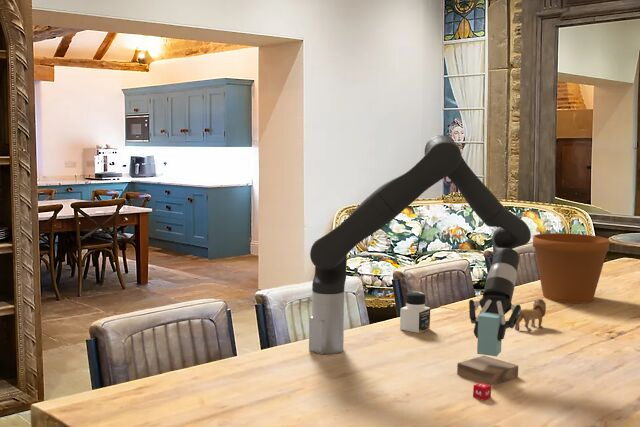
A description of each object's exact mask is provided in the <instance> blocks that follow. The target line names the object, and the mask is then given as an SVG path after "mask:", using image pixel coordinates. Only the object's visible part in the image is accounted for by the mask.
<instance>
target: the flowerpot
mask: <svg viewBox="0 0 640 427" xmlns="http://www.w3.org/2000/svg"><path fill="white" fill-rule="evenodd" d="M532 247H533V248H534V251H535V256H536V257H535V258H536V263H537V268H538V269H537V270H538V275H539V280H540V285H541V291H542V296H544V297H545V299H547V300H549V301H554V302H558V301H559V303H566V302H568V303H567V304H585V303H586V304H587V303H591V302H592V301H593V300H594V298H595V295H596V294H595V293H596V291H597V287H598V284H599V281H600V280H599V279H600V277H601V272H602V270H603V266H604V263H605V260H606V256H607V254H608V252H610V238H606V237H602V236H598V235H597V236H596V235H590V234H581V233H568V232H567V233H566V232H564V233H563V232H562V233H561V232H560V233H557V232H556V233H555V232H554V233H553V232H551V233H550V232H549V233H539V234H534V235H533V236H532ZM544 297H543V298H544Z"/></svg>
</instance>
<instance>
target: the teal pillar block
mask: <svg viewBox="0 0 640 427" xmlns="http://www.w3.org/2000/svg"><path fill="white" fill-rule="evenodd" d="M479 314H480V313H479ZM479 314H478V315H479ZM477 317H478V338H477V342H476V343H477V348H476V349H477V350H476V354H477V355H481V356H488V357H490V356H491V357H498V355H499V354H500V353H501V352H502V340H503V339H501V341H498V339H497V335H498V331H499V326H500V325H501V322H500V321H501V315H499V314H498V313H489V312H485V313H481V314H480V315H479V316H477Z"/></svg>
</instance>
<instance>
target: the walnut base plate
mask: <svg viewBox="0 0 640 427" xmlns="http://www.w3.org/2000/svg"><path fill="white" fill-rule="evenodd" d="M456 367H457V369H456V371H457V372H456V373H457V374H456V375H457V376H462V377H464V378H468V379H470V380H473V381H477V382H478V383H480V382H481V383H484V384H488V385H491V387H492V386H495V385H498V384H500V383H504V382H507V381H509V380H513V379H515V378H518V377H519V365H518V364H515V363H511V362H508V361H504V360H500V359H498V358H494V357H492V356H491V357H490V356H488V355H481V356H477V357H473V358H470V359H467V360H463V361H461V362H457V366H456Z"/></svg>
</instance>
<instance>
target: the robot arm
mask: <svg viewBox="0 0 640 427" xmlns="http://www.w3.org/2000/svg"><path fill="white" fill-rule="evenodd" d="M424 147H425V148H424V156H423V157H422V158H421V159H420V160H419V161H418V162H417V163H416V164H414V166H413V167H411V168H410V169H409V170H408V171H406V172H404V173H402V174H401V175H399V176H396V177H394V178H392V179H390V180H388V181H387V182H385V183H383V184H382V185H380V186H379V187H378V188H377V189H376V190H374V191H373V192H372V193H371V194H369V196H367V197H366V198H365V199H364V200H363V201H362V202H361V203H360V204H359V205H358V206H357V207H356V208H355V209H354V210H353V211H352V212H351V213H350V214H349V215H348V217H347V218H345V220H344V221H342V222H341V223H340V224H339V225H338V226H336V227H334V229H332V230H331V231H329V232H328V233H326V234H325V235H323V236H321V237H320V238H318V239H316V240H315V241H314V242H313V243H312V246H311V248H310V252H309V254H310V255H309V257H310V261H311V262H312V264H313V265H314V266H315V268H314V276H313V279H312V288H311V290H312V291H311V293H312V294H311V317H309V318H308V350H309V351H312V352H315V353H318V354H320V355H326V354H327V355H329V354H332V355H333V354H338V353H342V352H343V351H344V338H345V337H344V335H345V334H344V332H345V330H344V329H345V288H346V287H345V286H346V280H347V264H348V263H347V262H348V258H347V257H348V254H349V253H350V252H351V251H352V250H353V249H354V248H355V247H356V246H357V245H359V244H360V243H361V242H362V241H364V240H366V239H367V238H368V237H370V236H372V235H373V234H376V232H378V231H379V230H381V229H382V228H384V227H385V226H386V225H388V224H390V222H391V221H393V220H394V219H395V218H396V217H398V216H399V215H400V214H401V213H402V212H403V211H405V209H407V208H408V207H409V206H410V205H412V203H414V202H415V201H417V199H418V198H419V197H421V195H422V194H423V193H425V191H427V190H429V189H430V188H431V187H433V186H434V185H436V184H437V183H438V182H441V181H442V180H443V179H444V178H448V179H449V180H450V182H452V184H453V185H454V187H456V189H457V190H458V191H459V193H460V194H461V195H462V197H463V198H464V200H465V201H466V203H467V204H468V205H469V207H470V208H471V209H472V211H473V212H474V213H475V214H476V215H477V217H478V218H479V219H480V220H481V221H482V222H483V223H484V225H486V226H487V227H489V228H493V227H496V229H495V231H493V234H492V236H491V237H492V239H491V240H492V253H493V254H492V255H493V258H492V261H491V265H490V269H489V270H488V274H487V276H486V278H485V280H486V281H485V285H484V288H483V294H482V296H481V298H480V299H479V300H475V301H474V300H473V299H470V300H469V302H468V303H469V304H468V305H469V306H468V308H469V310H468V312H469V313H468V314H469V319H470V323H471V324H474V327H473V328H474V329H473V334H474V336H475V338H476V339H478V316H479V315H480V314H481V313H485V312H489V313H498V314H499V315H501V321H500V322H501V325H500V326H499V331H498V335H497V339H498V341H501V339H502V340H504V339H505V335H506V332H507V331H506V330H507V329H509V328H510V329H515V324H516V322H517V320H518V318H519V316H520V314H521V312H522V311H521V310H522V307H521V305H520V304H516V305H514V304H512V300H513V295H514V291H515V287H516V286H515V285H516V283H517V273H518V272H517V271H518V268H519V265H520V264H519V263H520V255H519V253H518V252H517V251H516V250H514V249H516V248H519V247H523V246H525V245H527V244H529V242H530V241H531V238H532V233H531V230H530V228H529V226H528V224H527V223H526V222H525V221H524V220H523V219H522V218H520V217H519V216H517V215H516V214H515V213H513V212H512V211H510V210H509V209H507V208H506V207H504V205H503V204H502V203H501V201H499V199H498V198H497V197H496V196H495V194H493V192H492V191H491V190H490V189H489V188H488V187H487V186H486V184H484V182H482V181H481V179H480V178H479V177H478V176H477V175H476V174H475V172H473V170H472V169H471V167H470V166H469V165H468V163H467V162H466V161H465V159H464V158H463V155H462V151H461V149H460V147H459V145H458V144H457V142H455V140H454V139H453V138H452V137H449V136H446V135H442V134H441V135H435V136H432V137H431V138H430V139H428V141H427V142H426V144H425V146H424ZM479 307H481V309H480V311H479V313H478V316H476V311H477V310H478V309H479ZM509 311H511V315H510V317H509V319H508V320H506V317H505V315H506V314H507V313H509ZM501 342H502V341H501Z"/></svg>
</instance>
